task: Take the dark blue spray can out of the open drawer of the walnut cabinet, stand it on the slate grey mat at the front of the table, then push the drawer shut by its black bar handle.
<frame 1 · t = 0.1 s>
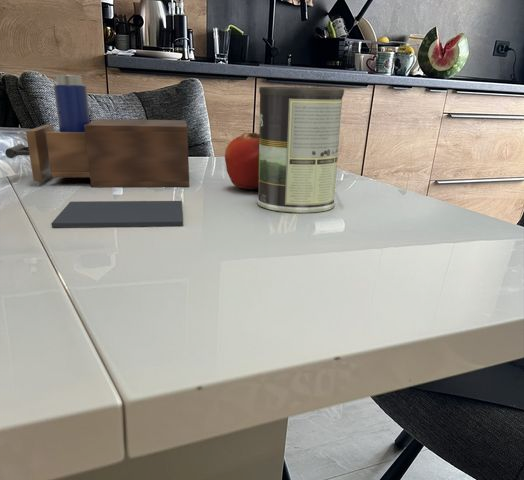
coffee can: (296, 206, 73), on the table
tomato: (254, 190, 83), on the table
cabinet: (143, 179, 89), on the table
drawer: (70, 151, 86), point 4 cm above the table, slide at 7.0 cm, touching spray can
mat: (123, 215, 65), on the table
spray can: (79, 166, 87), point 2 cm above the table, touching drawer
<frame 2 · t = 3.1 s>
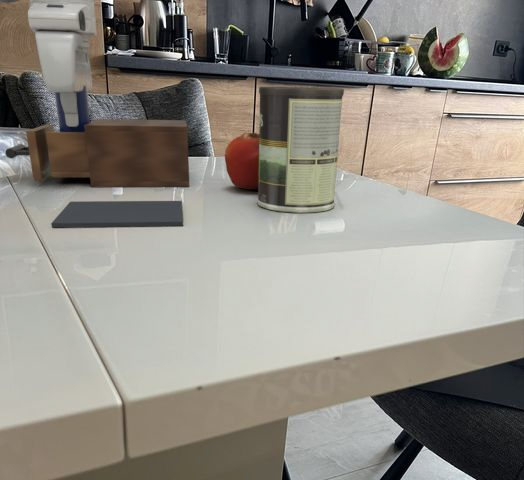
hand: (76, 125, 84), 8 cm above the table, tool pointing down, fingers closed on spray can, 4 cm apart
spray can: (79, 166, 87), point 2 cm above the table, touching drawer, gripper
everything else where it was.
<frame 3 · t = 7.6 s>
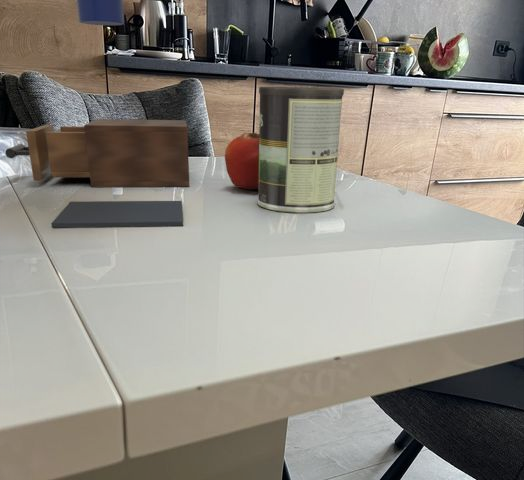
drawer: (70, 151, 86), point 4 cm above the table, slide at 7.0 cm
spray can: (101, 23, 57), point 20 cm above the table, touching gripper
everything else where it was.
when the fingers open (7 cm above the table, at t = 12.2 s): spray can stays where it is, resting on mat.
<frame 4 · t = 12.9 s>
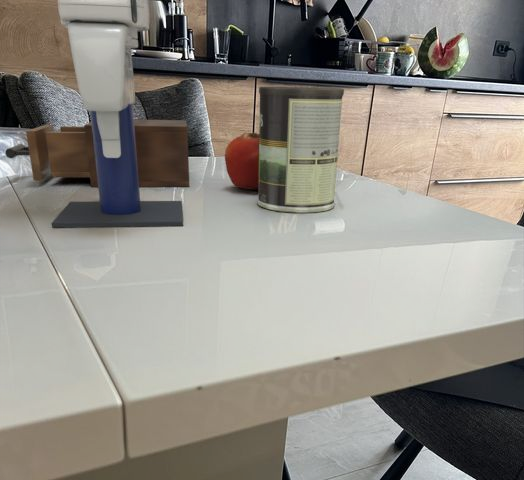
hand: (117, 152, 62), 7 cm above the table, tool pointing down, fingers open, 8 cm apart
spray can: (121, 210, 65), resting on mat
everything else where it was.
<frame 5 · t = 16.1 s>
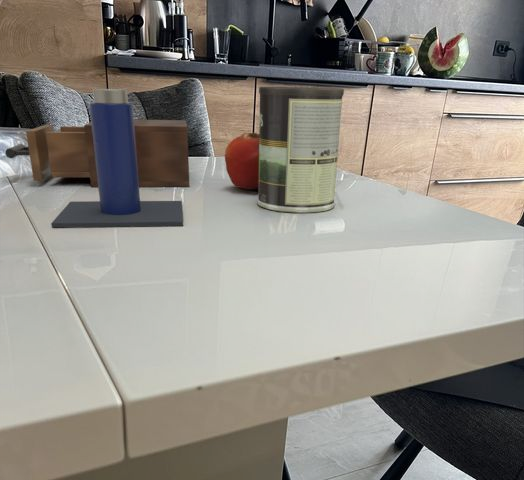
nothing on the table moved.
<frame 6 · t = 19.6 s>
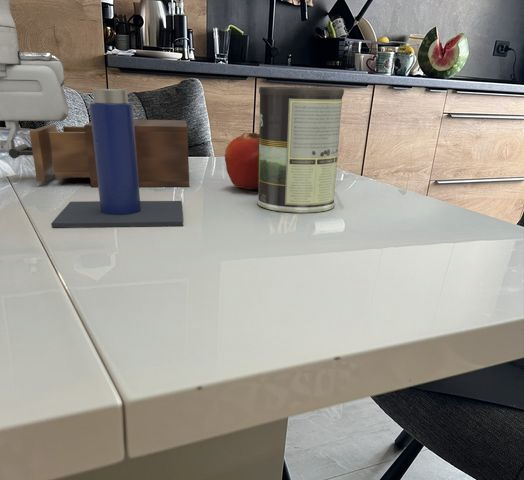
hand: (4, 152, 85), 4 cm above the table, tool pointing down, fingers closed
drawer: (73, 151, 86), point 4 cm above the table, slide at 6.5 cm, touching gripper
everything else where it was.
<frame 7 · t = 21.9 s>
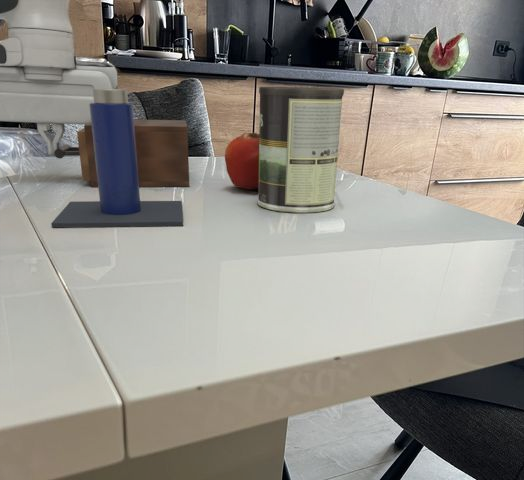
hand: (54, 154, 86), 4 cm above the table, tool pointing down, fingers closed, pressing on drawer
drawer: (116, 151, 87), point 4 cm above the table, slide at 0.0 cm, touching cabinet, gripper
everything else where it was.
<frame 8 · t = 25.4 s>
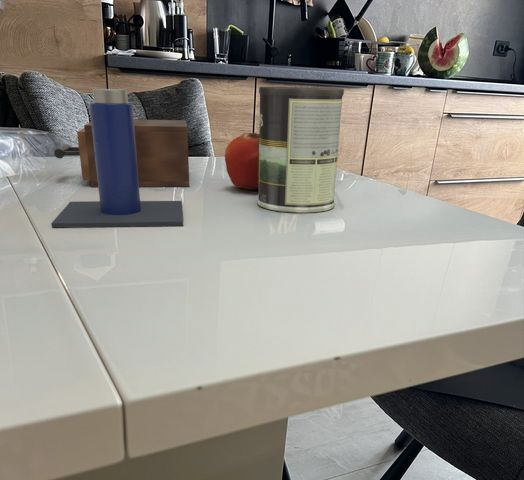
drawer: (116, 151, 87), point 4 cm above the table, slide at 0.0 cm, touching cabinet
everything else where it was.
at the end: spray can inside the target area on the mat (0.2 cm from its centre), point 0.5 cm above the mat's base; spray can tilted 0°; drawer slide at 0.0 cm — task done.
